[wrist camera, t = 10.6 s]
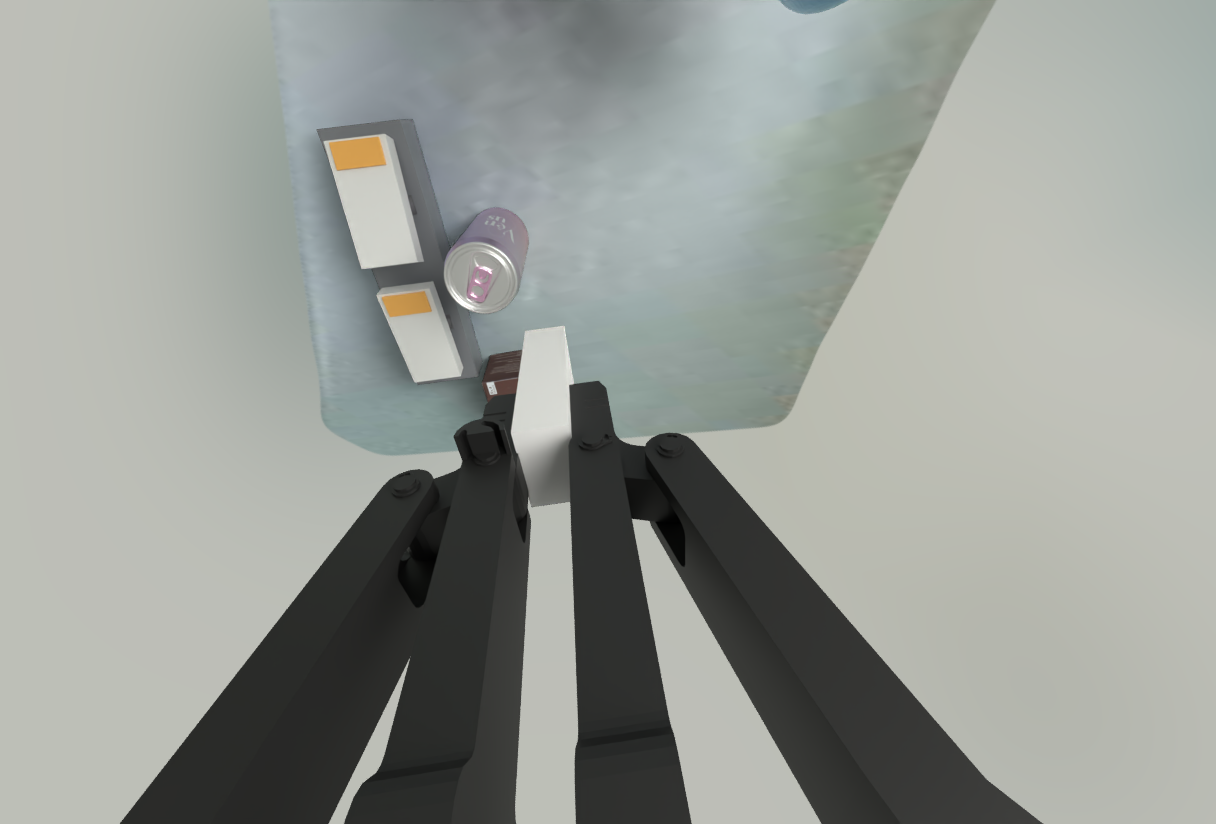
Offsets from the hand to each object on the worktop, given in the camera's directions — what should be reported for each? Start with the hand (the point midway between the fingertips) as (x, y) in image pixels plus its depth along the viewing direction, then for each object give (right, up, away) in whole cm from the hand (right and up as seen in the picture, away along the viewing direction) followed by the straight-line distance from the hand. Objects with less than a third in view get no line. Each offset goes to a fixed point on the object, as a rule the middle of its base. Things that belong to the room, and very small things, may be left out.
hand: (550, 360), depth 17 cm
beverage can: (-9, +17, +30) cm, 35 cm away
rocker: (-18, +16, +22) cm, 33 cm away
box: (-9, +3, +39) cm, 40 cm away
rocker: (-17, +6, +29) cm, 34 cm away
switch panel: (-18, +14, +30) cm, 38 cm away
